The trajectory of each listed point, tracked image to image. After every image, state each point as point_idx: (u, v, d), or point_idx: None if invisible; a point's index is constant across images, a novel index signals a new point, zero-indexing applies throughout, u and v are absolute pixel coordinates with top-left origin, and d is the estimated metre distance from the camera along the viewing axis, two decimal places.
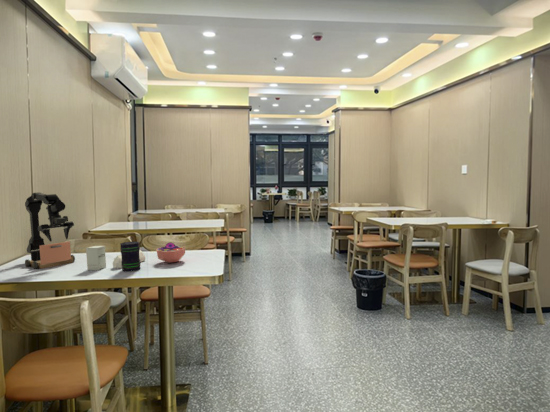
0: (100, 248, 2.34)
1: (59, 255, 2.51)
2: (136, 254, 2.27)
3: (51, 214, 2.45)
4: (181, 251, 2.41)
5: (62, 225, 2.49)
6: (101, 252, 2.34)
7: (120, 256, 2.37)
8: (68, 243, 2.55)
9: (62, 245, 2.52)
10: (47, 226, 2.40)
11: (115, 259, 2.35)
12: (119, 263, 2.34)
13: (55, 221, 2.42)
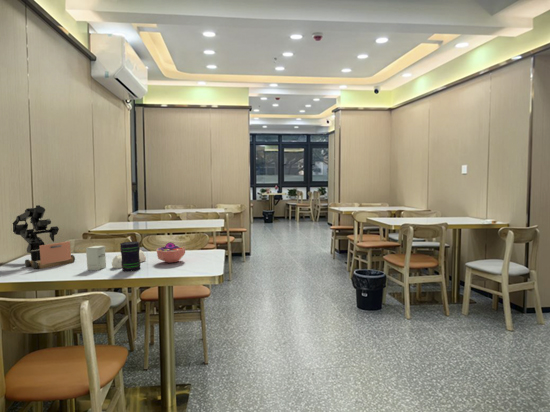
0: (100, 248, 2.34)
1: (59, 255, 2.51)
2: (136, 254, 2.27)
3: (34, 222, 2.59)
4: (181, 251, 2.41)
5: (47, 230, 2.62)
6: (101, 252, 2.34)
7: (119, 256, 2.37)
8: (68, 243, 2.55)
9: (62, 245, 2.52)
10: (32, 230, 2.53)
11: (114, 259, 2.35)
12: (118, 263, 2.34)
13: (39, 224, 2.55)
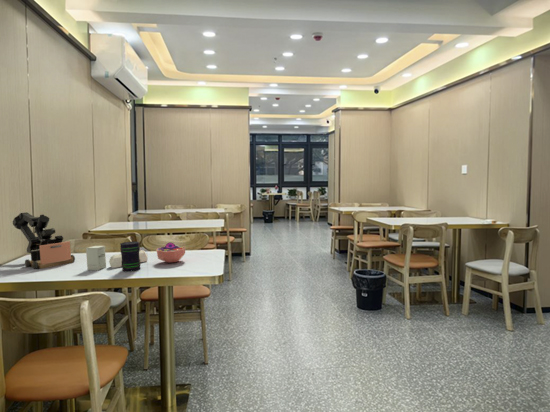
0: (100, 248, 2.34)
1: (59, 255, 2.51)
2: (136, 254, 2.27)
3: (39, 231, 2.57)
4: (181, 251, 2.41)
5: None
6: (101, 252, 2.34)
7: (116, 256, 2.38)
8: (68, 243, 2.55)
9: (62, 245, 2.52)
10: (36, 239, 2.50)
11: (110, 258, 2.37)
12: (113, 263, 2.35)
13: (43, 233, 2.53)
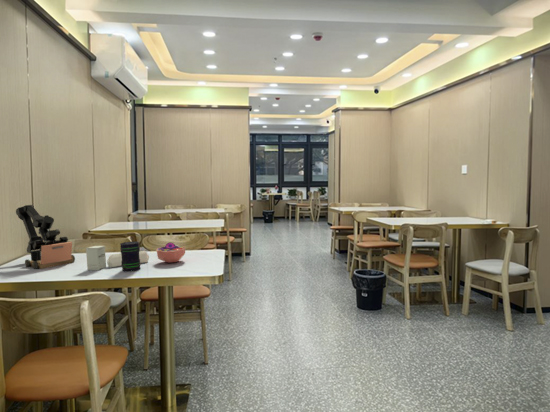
0: (100, 248, 2.34)
1: (60, 255, 2.50)
2: (136, 254, 2.27)
3: (43, 232, 2.53)
4: (181, 251, 2.41)
5: None
6: (101, 252, 2.34)
7: (113, 255, 2.40)
8: (70, 244, 2.54)
9: (64, 246, 2.51)
10: (41, 240, 2.46)
11: (108, 258, 2.40)
12: (109, 262, 2.38)
13: (47, 234, 2.49)
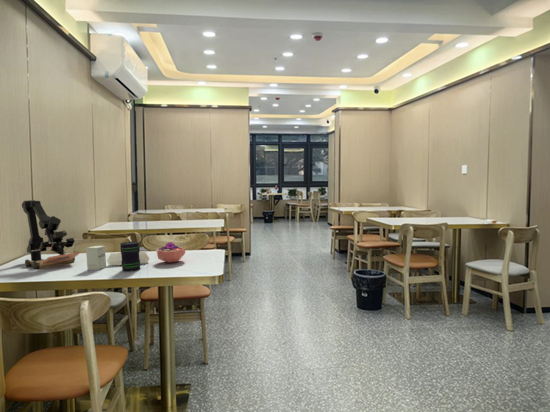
0: (100, 248, 2.34)
1: (62, 259, 2.49)
2: (136, 254, 2.27)
3: (49, 234, 2.48)
4: (181, 251, 2.41)
5: None
6: (101, 252, 2.34)
7: (112, 254, 2.44)
8: (76, 254, 2.50)
9: (70, 256, 2.47)
10: (47, 242, 2.41)
11: None
12: (108, 261, 2.42)
13: (54, 236, 2.44)
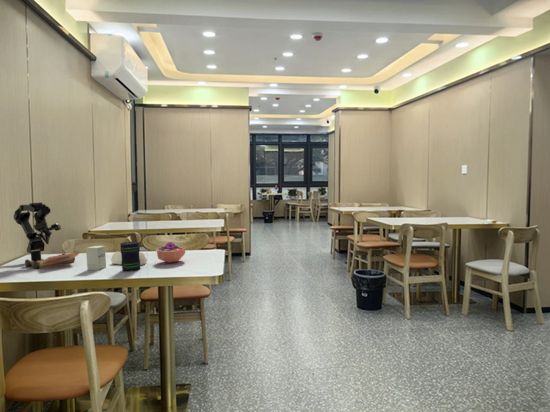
0: (100, 248, 2.34)
1: (62, 259, 2.49)
2: (136, 254, 2.27)
3: (36, 221, 2.57)
4: (181, 251, 2.41)
5: None
6: (101, 252, 2.34)
7: (116, 253, 2.49)
8: (76, 254, 2.50)
9: (70, 256, 2.47)
10: (31, 233, 2.53)
11: None
12: None
13: None
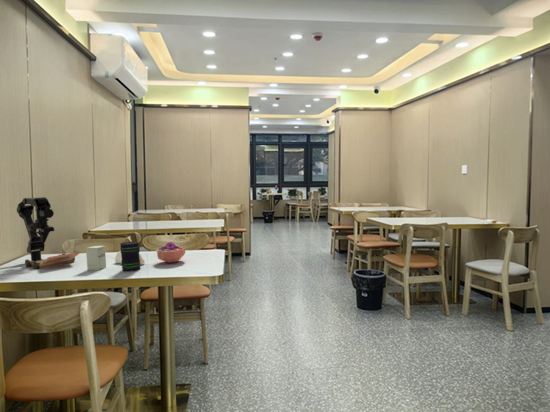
0: (100, 248, 2.34)
1: (62, 259, 2.49)
2: (136, 254, 2.27)
3: None
4: (181, 251, 2.41)
5: None
6: (101, 252, 2.34)
7: (120, 252, 2.51)
8: (76, 254, 2.50)
9: (70, 256, 2.47)
10: None
11: None
12: None
13: None
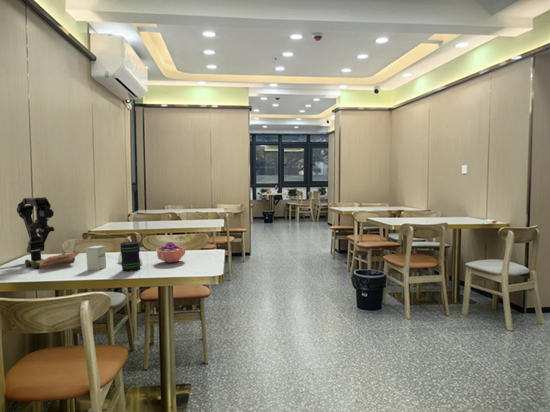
0: (100, 248, 2.34)
1: (62, 259, 2.49)
2: (136, 254, 2.27)
3: None
4: (181, 251, 2.41)
5: None
6: (101, 252, 2.34)
7: None
8: (76, 254, 2.50)
9: (70, 256, 2.47)
10: None
11: None
12: None
13: None
